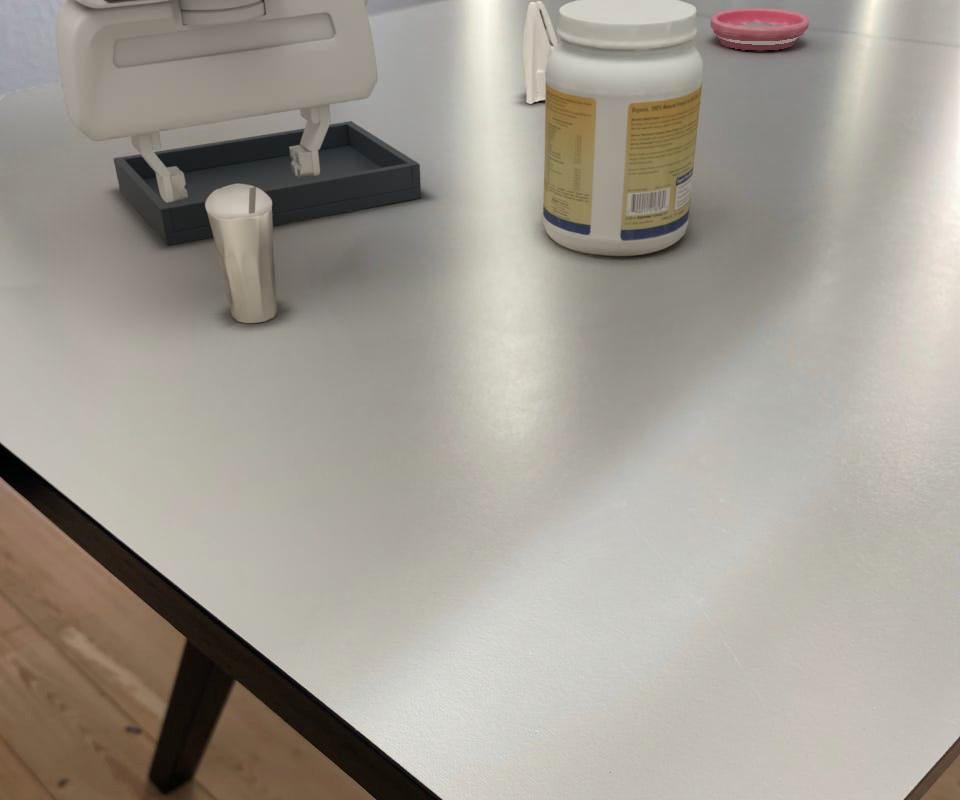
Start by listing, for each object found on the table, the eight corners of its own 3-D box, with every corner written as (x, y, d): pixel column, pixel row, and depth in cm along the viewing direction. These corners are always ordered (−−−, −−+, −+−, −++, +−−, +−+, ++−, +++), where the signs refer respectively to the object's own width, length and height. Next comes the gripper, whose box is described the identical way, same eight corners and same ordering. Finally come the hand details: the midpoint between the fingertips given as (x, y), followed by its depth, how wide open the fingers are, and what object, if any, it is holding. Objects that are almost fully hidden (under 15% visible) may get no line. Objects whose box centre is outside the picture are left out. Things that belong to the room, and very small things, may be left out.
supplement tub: (692, 214, 98) (716, -6, 87) (679, 266, 89) (705, 28, 78) (554, 205, 100) (561, -11, 89) (528, 255, 91) (532, 21, 80)
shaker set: (612, 85, 131) (619, -23, 124) (627, 94, 128) (635, -16, 121) (516, 95, 128) (517, -15, 121) (528, 104, 125) (530, -8, 118)
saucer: (689, 44, 147) (691, 17, 145) (746, 29, 153) (750, 2, 151) (767, 60, 140) (771, 32, 138) (824, 43, 146) (829, 16, 144)
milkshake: (242, 337, 80) (220, 193, 73) (214, 311, 83) (190, 171, 77) (300, 322, 82) (283, 181, 75) (270, 297, 85) (252, 160, 79)
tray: (167, 245, 93) (160, 209, 92) (120, 191, 104) (113, 158, 102) (421, 198, 102) (419, 164, 100) (353, 152, 112) (351, 120, 111)
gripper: (344, -71, 73) (362, 150, 82) (25, -39, 66) (83, 199, 75) (384, -58, 69) (399, 173, 78) (48, -23, 62) (106, 228, 71)
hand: (241, 186), depth 76 cm, fingers open, 8 cm apart
